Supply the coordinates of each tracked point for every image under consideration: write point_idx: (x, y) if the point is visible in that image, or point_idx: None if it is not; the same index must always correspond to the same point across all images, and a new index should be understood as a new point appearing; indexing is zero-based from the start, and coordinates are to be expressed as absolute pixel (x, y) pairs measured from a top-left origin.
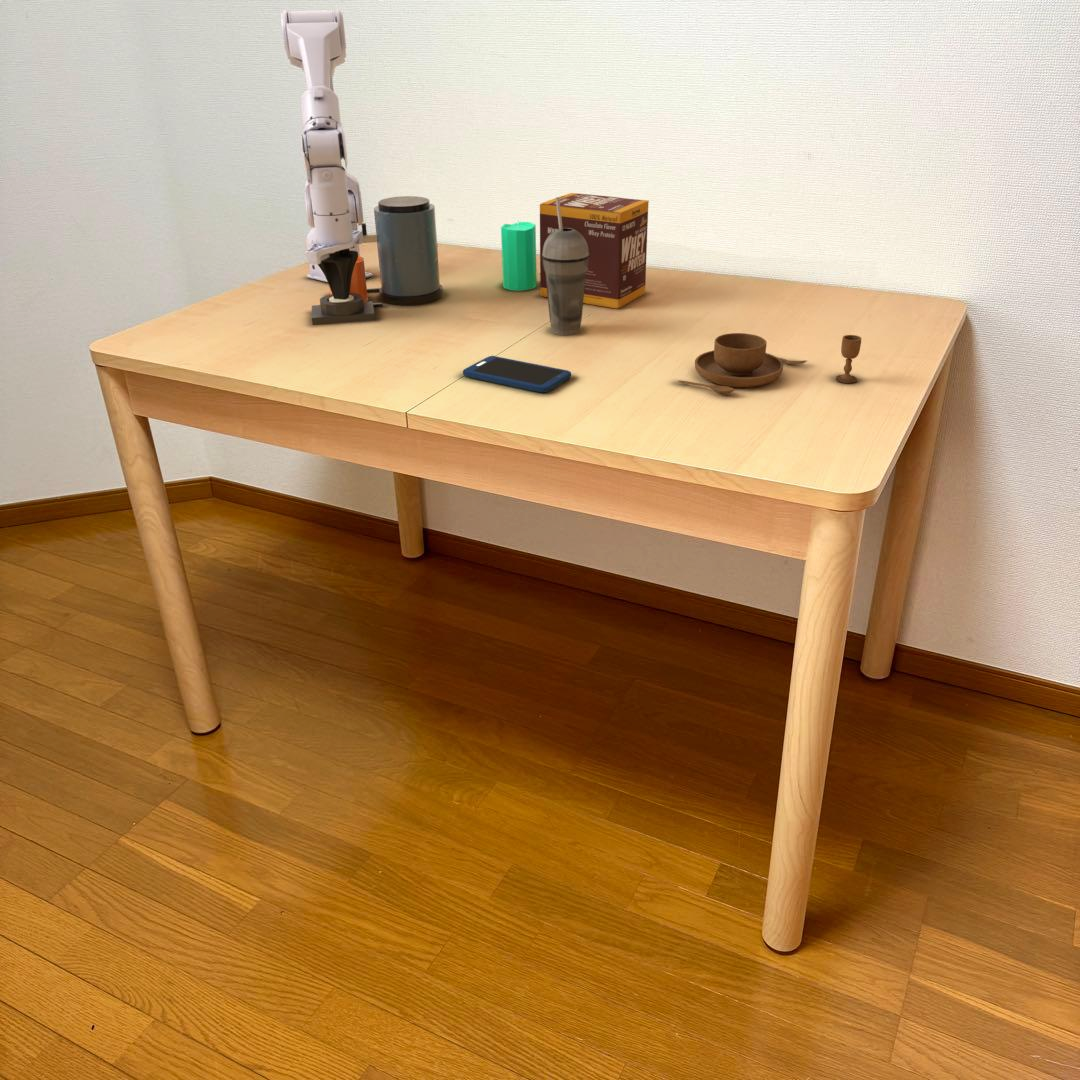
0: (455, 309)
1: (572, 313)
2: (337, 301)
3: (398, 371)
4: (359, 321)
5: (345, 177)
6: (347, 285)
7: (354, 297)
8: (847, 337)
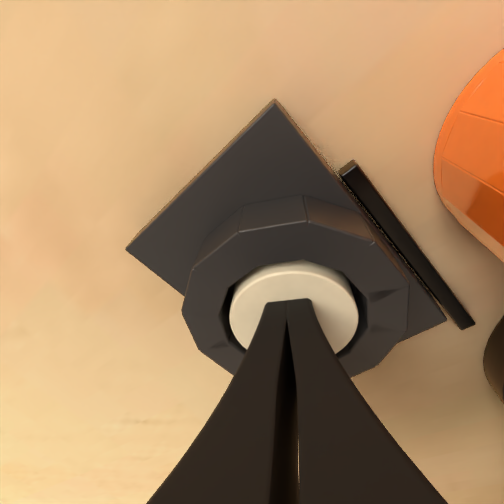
0: (472, 458)
1: None
2: (236, 337)
3: (87, 489)
4: None
5: None
6: (297, 421)
7: (352, 340)
8: None
